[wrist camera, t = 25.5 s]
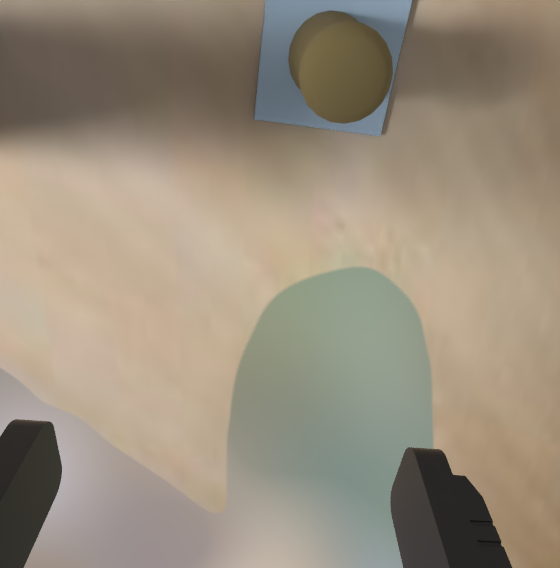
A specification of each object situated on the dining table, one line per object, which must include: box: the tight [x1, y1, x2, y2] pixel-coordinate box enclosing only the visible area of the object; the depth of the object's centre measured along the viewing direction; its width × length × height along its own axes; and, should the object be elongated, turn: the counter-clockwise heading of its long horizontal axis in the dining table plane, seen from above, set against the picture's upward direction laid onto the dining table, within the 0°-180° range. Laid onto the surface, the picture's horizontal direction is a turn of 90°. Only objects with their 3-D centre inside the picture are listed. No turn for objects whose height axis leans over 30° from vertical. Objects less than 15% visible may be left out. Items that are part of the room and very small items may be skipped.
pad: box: [254, 0, 412, 136], centre depth 34 cm, size 10×10×1 cm
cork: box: [288, 10, 393, 124], centre depth 29 cm, size 6×6×11 cm
